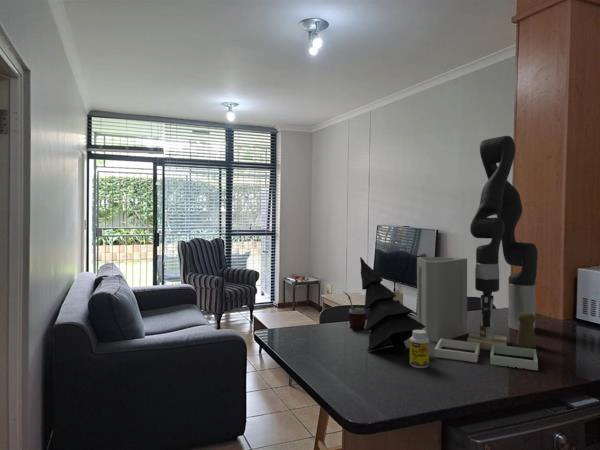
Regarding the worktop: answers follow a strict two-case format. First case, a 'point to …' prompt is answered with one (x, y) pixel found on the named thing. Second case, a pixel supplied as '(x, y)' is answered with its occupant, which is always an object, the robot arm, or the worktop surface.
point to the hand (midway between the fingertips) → (487, 323)
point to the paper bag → (442, 296)
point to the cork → (526, 330)
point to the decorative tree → (385, 314)
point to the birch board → (487, 343)
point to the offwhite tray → (457, 354)
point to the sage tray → (514, 361)
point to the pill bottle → (487, 330)
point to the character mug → (398, 297)
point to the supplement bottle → (419, 349)
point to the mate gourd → (356, 317)
